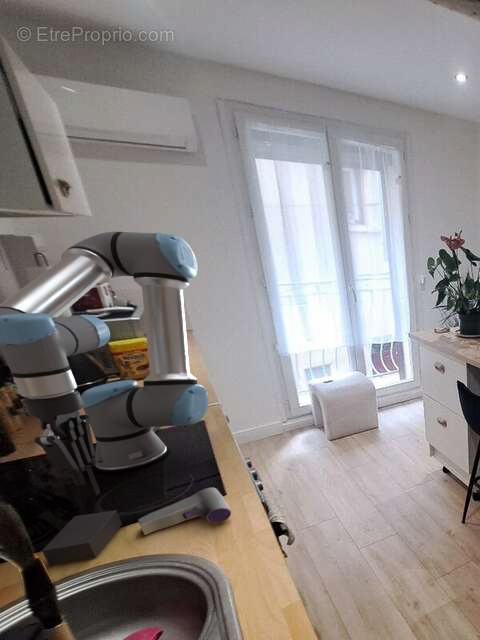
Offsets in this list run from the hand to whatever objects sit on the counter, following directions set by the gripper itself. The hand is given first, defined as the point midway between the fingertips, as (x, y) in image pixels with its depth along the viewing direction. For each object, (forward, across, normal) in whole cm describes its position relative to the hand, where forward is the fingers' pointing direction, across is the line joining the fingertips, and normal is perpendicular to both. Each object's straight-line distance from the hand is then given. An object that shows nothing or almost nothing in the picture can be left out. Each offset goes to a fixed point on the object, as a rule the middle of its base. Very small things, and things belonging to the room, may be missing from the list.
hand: (90, 494), depth 89 cm
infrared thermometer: (+9, +4, +17) cm, 20 cm away
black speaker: (+6, 0, 0) cm, 6 cm away
